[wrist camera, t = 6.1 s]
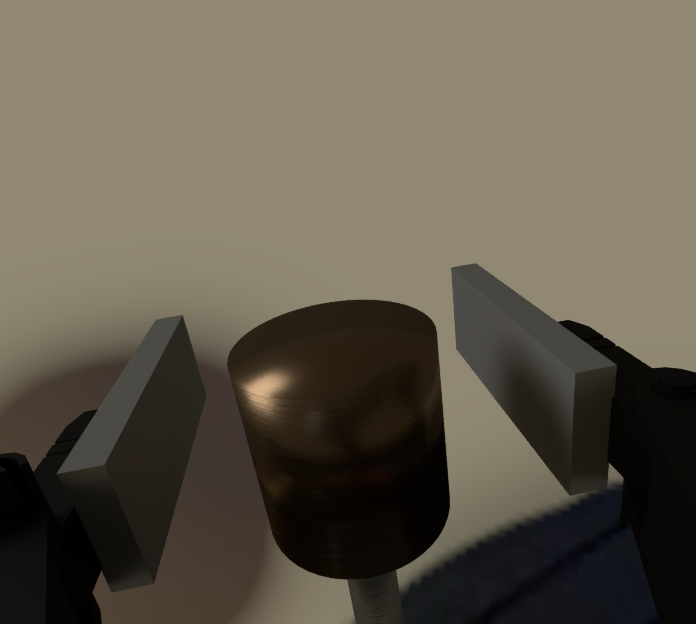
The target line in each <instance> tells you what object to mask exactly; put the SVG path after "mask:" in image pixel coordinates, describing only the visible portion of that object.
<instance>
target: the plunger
mask: <svg viewBox="0 0 696 624" xmlns="http://www.w3.org/2000/svg"><path fill="white" fill-rule="evenodd" d="M227 366H228V370H229V374H230V378H231V382H232V385H233V389H234V393H235V397H236V400H237V404H238V408H239V411H240V415H241V419H242V423H243V426H244V430H245V434H246V437H247V441H248V445H249V449H250V452H251V456H252V460H253V464H254V467H255V471H256V475H257V478H258V482H259V486H260V490H261V493H262V497H263V501H264V504H265V508H266V512H267V516H268V519H269V523H270V527H271V530H272V534H273V537H274V539H275V541H276V544H277V545H278V547H279V548H280V549H281V551H282V552H283V553H284V554H285V555H286V557H288V558H289V560H291V561H292V562H294V563H295V564H296V565H298V566H299V567H301V568H303V569H305V570H307V571H309V572H311V573H315V574H317V575H320V576H324V577H329V578H335V579H347V580H348V585H349V590H350V595H351V600H352V605H353V610H354V615H355V620H356V624H404V621H403V614H402V608H401V601H400V594H399V587H398V580H397V574H396V570H397V569H399V568H401V567H403V566H405V565H407V564H409V563H410V562H412V561H414V560H415V559H416V558H418V557H419V556H421V555H422V554H423V553H424V552H425V551H426V550H427V549H428V548H429V547H430V546H431V545H432V544H433V543H434V542H435V541H436V539H437V538H438V537H439V535H440V533H441V532H442V530H443V528H444V526H445V524H446V521H447V518H448V514H449V509H450V494H449V481H448V468H447V456H446V443H445V431H444V417H443V405H442V392H441V379H440V366H439V356H438V342H437V331H436V327H435V325H434V323H433V321H432V320H431V319H430V318H429V317H428V316H427V315H425V314H424V313H423V312H421V311H419V310H417V309H415V308H413V307H410V306H407V305H404V304H400V303H395V302H389V301H380V300H347V301H337V302H329V303H324V304H319V305H314V306H309V307H305V308H301V309H298V310H295V311H291V312H288V313H286V314H283V315H280V316H278V317H275V318H273V319H271V320H269V321H267V322H265V323H263V324H261V325H259V326H257V327H256V328H254V329H253V330H251V331H250V332H248V333H247V334H246V335H245V336H243V337H242V338H241V339H240V340H239V341H238V342H237V343H236V344H235V345H234V347H233V348H232V350H231V351H230V354H229V356H228V361H227Z"/></svg>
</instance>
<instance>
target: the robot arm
mask: <svg viewBox="0 0 696 624" xmlns="http://www.w3.org/2000/svg"><path fill="white" fill-rule="evenodd" d="M451 271H452V287H453V302H454V319H455V335H456V349H457V350H458V352H459V353H460V354H461V355H462V357H463V358H464V359H465V361H466V362H467V363H468V364H469V366H470V367H471V368H472V370H473V371H474V372H475V374H476V375H477V376H478V378H479V379H480V380H481V381H482V383H483V384H484V385H485V387H486V388H487V389H488V390H489V392H490V393H491V394H492V396H493V397H494V398H495V400H496V401H497V402H498V403H499V405H500V406H501V407H502V409H503V410H504V411H505V412H506V414H507V415H508V416H509V418H510V419H511V420H512V422H513V423H514V424H515V425H516V427H517V428H518V429H519V431H520V432H521V433H522V434H523V436H524V437H525V438H526V440H527V441H528V442H529V443H530V445H531V446H532V447H533V449H534V450H535V451H536V453H537V454H538V455H539V456H540V458H541V459H542V460H543V462H544V463H545V464H546V466H547V467H548V468H549V469H550V471H551V472H552V473H553V475H554V476H555V477H556V478H557V480H558V481H559V482H560V484H561V485H562V486H563V488H564V489H565V490H566V491H567V493H568V494H569V495H570V496H571V495H576V494H580V493H585V492H590V491H595V490H599V489H604V488H607V481H608V468H609V463H610V464H611V465H612V466H613V467H614V468H615V469H616V470H617V471H618V472H619V473H620V474H621V475H622V477H623V478H624V481H623V491H622V501H621V512H620V529H626V527H627V520H628V519H629V521H630V524H631V527H632V531H633V534H634V537H635V540H636V544H637V547H638V550H639V554H640V557H641V560H642V564H643V567H644V570H645V574H646V577H647V580H648V584H649V587H650V590H651V594H652V597H653V600H654V604H655V607H656V610H657V614H658V617H659V620H660V624H696V372H691V371H688V370H683V369H677V368H667V367H662V368H651V367H649V366H648V365H646V364H645V363H643V362H642V361H640V360H639V359H637V358H635V357H634V356H633V355H631V354H630V353H628V352H627V351H625V350H624V349H622V348H621V347H619V346H615V344H614V343H613V342H612V341H610V340H609V339H607V338H604V337H603V335H601V334H600V333H598V332H596V331H595V330H593V329H592V328H590V327H589V326H586V325H583V324H580V323H577V322H574V321H570V320H565V321H560V322H556V321H555V320H554V319H552V318H551V317H550V316H548V315H547V314H545V313H544V312H543V311H541V310H540V309H538V308H537V307H536V306H534V305H533V304H531V303H530V302H529V301H527V300H526V299H525V298H523V297H522V296H520V295H519V294H517V293H516V292H515V291H514V290H512V289H511V288H509V287H508V286H507V285H505V284H504V283H502V282H501V281H500V280H498V279H497V278H495V277H494V276H493V275H491V274H490V273H489V272H487V271H486V270H484V269H483V268H482V267H480V266H479V265H478V264H469V265H463V266H458V267H453V268H451ZM205 399H206V392H205V389H204V386H203V382H202V379H201V375H200V372H199V369H198V366H197V362H196V359H195V355H194V352H193V349H192V345H191V342H190V338H189V335H188V332H187V328H186V325H185V321H184V318H183V315H180V316H175V317H169V318H163V319H158V320H156V321H155V322H154V324H153V325H152V327H151V328H150V330H149V331H148V333H147V335H146V336H145V338H144V339H143V341H142V343H141V344H140V346H139V347H138V349H137V350H136V352H135V353H134V355H133V356H132V358H131V359H130V361H129V363H128V364H127V366H126V367H125V369H124V370H123V372H122V373H121V375H120V376H119V378H118V380H117V381H116V383H115V384H114V386H113V387H112V389H111V390H110V392H109V394H108V395H107V397H106V398H105V400H104V401H103V403H102V405H101V406H100V407H99V409H97V410H92V411H87V412H84V413H83V414H81V415H80V416H79V417H78V418H76V419H75V420H74V421H73V422H71V423H70V424H69V425H68V426H67V427H66V428H65V429H64V430H63V432H62V433H61V435H60V436H59V437H58V439H57V440H56V442H55V445H53V446H52V447H51V449H50V450H49V451H48V453H47V454H46V458H43V460H42V461H41V463H40V464H39V465H38V467H37V468H36V470H35V471H34V472H33V471H32V469H31V467H30V465H29V463H28V461H27V458H26V457H25V455H22V454H19V453H6V454H0V624H102V621H101V612H100V608H99V606H98V604H97V601H96V599H95V597H94V595H93V593H92V592H93V589H94V587H95V584H96V582H97V579H98V577H99V574H100V572H101V570H102V573H103V575H104V577H105V579H106V581H107V583H108V585H109V588H110V590H111V592H117V591H122V590H126V589H131V588H135V587H141V586H145V585H150V584H154V582H155V578H156V574H157V571H158V567H159V564H160V560H161V557H162V553H163V549H164V546H165V542H166V538H167V535H168V532H169V528H170V524H171V520H172V517H173V514H174V510H175V506H176V503H177V499H178V496H179V492H180V489H181V485H182V482H183V478H184V474H185V471H186V467H187V464H188V460H189V456H190V453H191V449H192V446H193V442H194V439H195V435H196V431H197V428H198V424H199V421H200V417H201V414H202V410H203V407H204V403H205Z"/></svg>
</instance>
